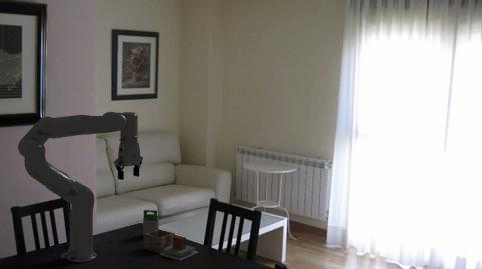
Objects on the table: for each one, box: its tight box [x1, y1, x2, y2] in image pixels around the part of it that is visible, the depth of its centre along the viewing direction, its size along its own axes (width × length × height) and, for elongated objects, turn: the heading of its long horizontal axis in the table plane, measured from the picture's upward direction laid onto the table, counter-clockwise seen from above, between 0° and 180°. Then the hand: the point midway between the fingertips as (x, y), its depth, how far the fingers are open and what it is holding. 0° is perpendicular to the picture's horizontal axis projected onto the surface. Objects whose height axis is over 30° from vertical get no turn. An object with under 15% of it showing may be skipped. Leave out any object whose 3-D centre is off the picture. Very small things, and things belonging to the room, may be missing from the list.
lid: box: [163, 235, 196, 257], centre depth 248 cm, size 10×10×7 cm
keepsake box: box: [143, 228, 176, 255], centre depth 255 cm, size 10×10×7 cm
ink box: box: [142, 209, 160, 237], centre depth 273 cm, size 7×4×13 cm, turn 84°
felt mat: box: [159, 250, 200, 262], centre depth 249 cm, size 13×12×1 cm
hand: (128, 177), depth 248 cm, fingers open, 9 cm apart
